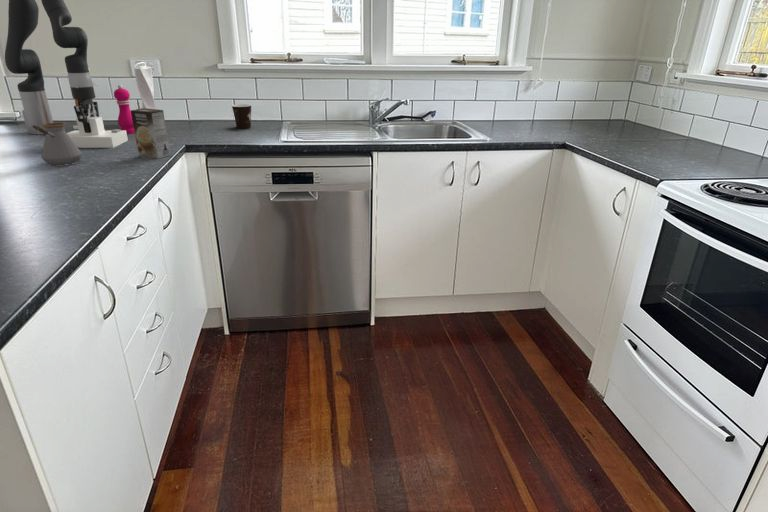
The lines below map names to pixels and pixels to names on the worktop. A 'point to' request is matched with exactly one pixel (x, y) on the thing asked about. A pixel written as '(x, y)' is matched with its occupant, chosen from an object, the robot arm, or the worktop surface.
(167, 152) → the coffee box
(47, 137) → the coffee pot
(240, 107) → the coffee mug
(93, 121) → the plug
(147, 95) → the skyscraper
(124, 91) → the pepper mill
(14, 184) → the worktop surface
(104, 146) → the socket
